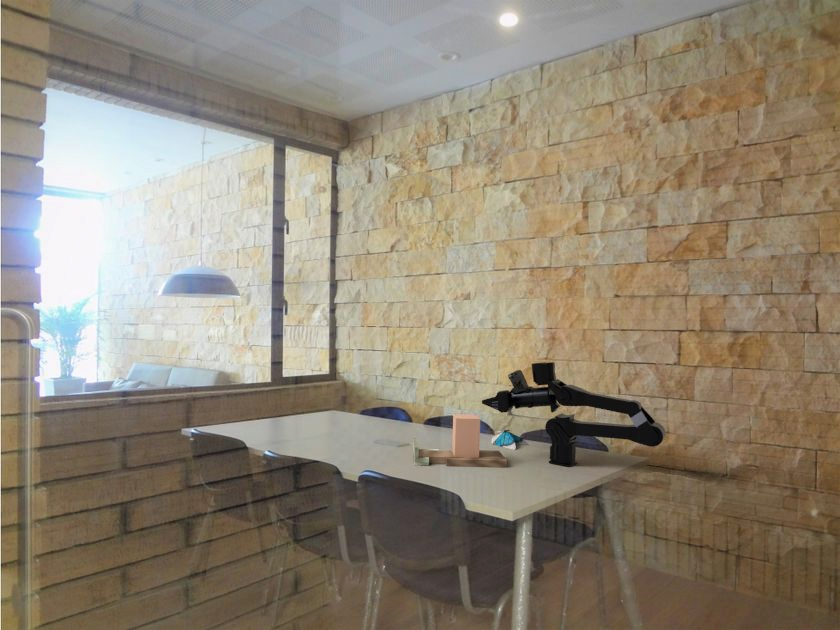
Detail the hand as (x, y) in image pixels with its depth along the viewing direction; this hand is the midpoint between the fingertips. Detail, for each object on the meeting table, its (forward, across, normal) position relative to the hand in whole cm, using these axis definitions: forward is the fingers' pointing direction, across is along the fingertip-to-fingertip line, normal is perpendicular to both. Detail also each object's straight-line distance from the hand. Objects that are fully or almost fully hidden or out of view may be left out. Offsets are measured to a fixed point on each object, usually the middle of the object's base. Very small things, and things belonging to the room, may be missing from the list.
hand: (487, 400), depth 181 cm
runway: (+4, +16, +16) cm, 23 cm away
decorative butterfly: (0, -13, +17) cm, 21 cm away
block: (+2, +15, +14) cm, 21 cm away
